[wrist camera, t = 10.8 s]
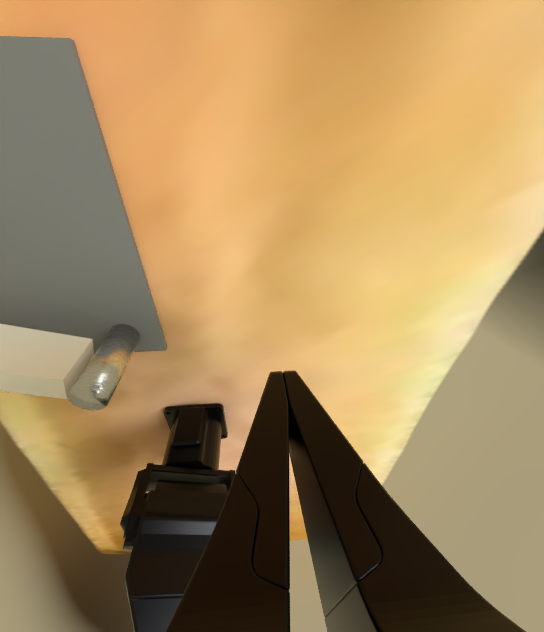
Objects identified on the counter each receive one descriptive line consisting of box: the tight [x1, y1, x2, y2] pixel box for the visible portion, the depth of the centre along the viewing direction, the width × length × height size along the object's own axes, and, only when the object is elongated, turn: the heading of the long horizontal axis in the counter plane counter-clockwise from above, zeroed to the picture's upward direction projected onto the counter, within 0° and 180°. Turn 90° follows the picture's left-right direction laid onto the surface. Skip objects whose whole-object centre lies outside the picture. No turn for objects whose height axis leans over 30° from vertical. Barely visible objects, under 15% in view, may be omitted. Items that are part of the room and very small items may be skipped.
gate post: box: [68, 324, 140, 410], centre depth 20 cm, size 2×2×7 cm
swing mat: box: [0, 36, 167, 354], centre depth 18 cm, size 20×14×1 cm
